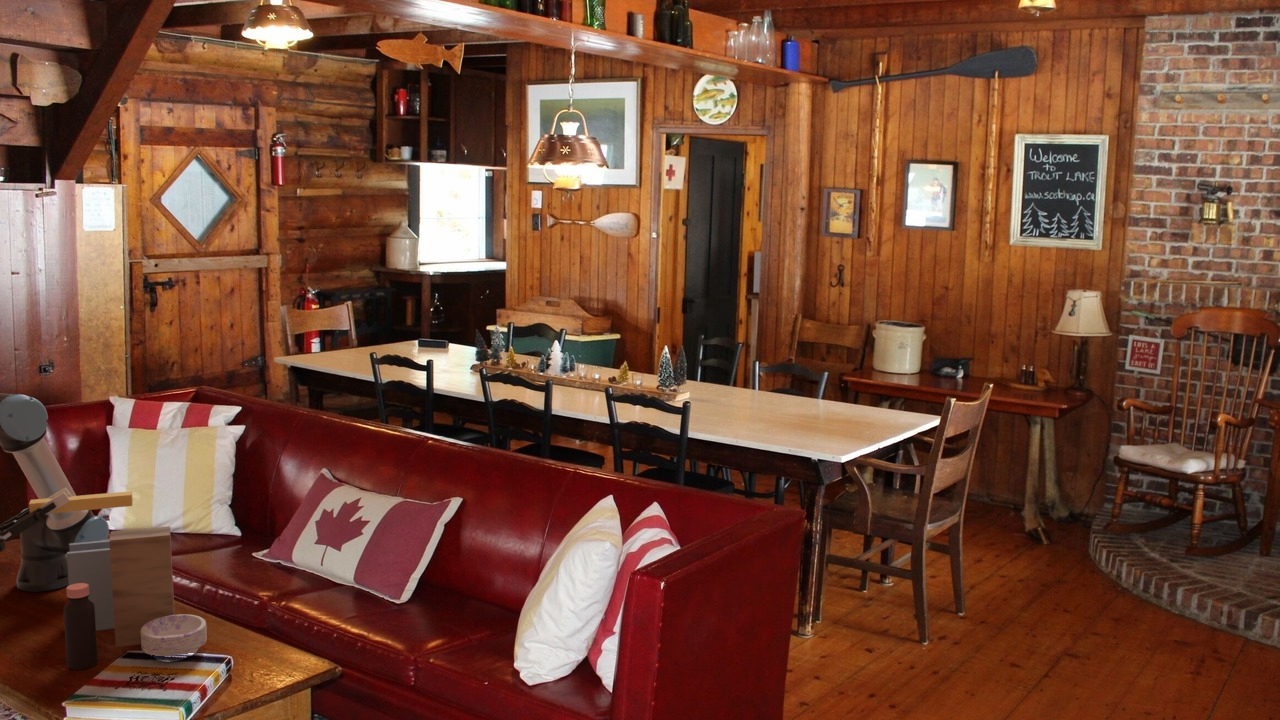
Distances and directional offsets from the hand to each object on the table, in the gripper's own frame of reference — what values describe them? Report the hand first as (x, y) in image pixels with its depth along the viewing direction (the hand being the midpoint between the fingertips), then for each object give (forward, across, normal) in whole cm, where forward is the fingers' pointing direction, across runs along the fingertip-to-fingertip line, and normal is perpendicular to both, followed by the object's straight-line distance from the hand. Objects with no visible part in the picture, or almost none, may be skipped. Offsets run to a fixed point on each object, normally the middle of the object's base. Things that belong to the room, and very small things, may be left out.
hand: (67, 494), depth 305 cm
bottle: (-15, +27, -33) cm, 45 cm away
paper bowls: (+3, +28, -44) cm, 52 cm away
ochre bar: (+1, 0, -5) cm, 5 cm away
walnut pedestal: (-3, +14, -40) cm, 42 cm away
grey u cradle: (-12, 0, -35) cm, 37 cm away
